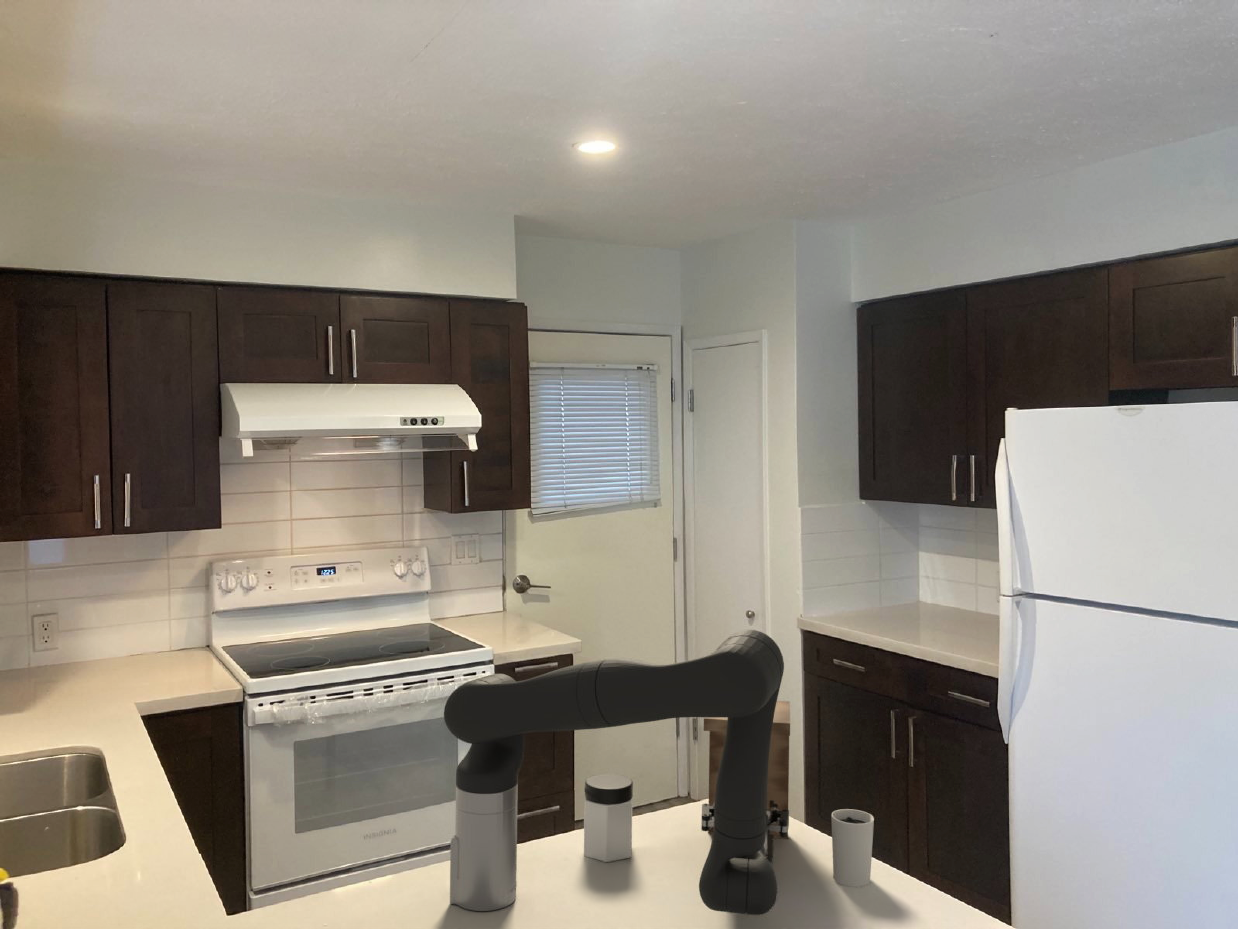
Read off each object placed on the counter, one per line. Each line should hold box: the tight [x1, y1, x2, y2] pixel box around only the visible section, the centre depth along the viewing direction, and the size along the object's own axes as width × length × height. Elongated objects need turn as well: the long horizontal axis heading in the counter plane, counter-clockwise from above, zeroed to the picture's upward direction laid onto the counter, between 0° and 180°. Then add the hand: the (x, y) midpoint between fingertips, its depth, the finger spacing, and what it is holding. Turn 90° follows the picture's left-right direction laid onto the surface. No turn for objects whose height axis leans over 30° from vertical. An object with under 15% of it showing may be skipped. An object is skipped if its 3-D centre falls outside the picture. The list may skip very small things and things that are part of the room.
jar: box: [583, 773, 634, 863], centre depth 166 cm, size 9×8×12 cm
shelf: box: [703, 700, 791, 864], centre depth 169 cm, size 14×16×24 cm
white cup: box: [831, 808, 875, 888], centre depth 157 cm, size 7×7×10 cm
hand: (746, 804), depth 168 cm, fingers open, 8 cm apart
